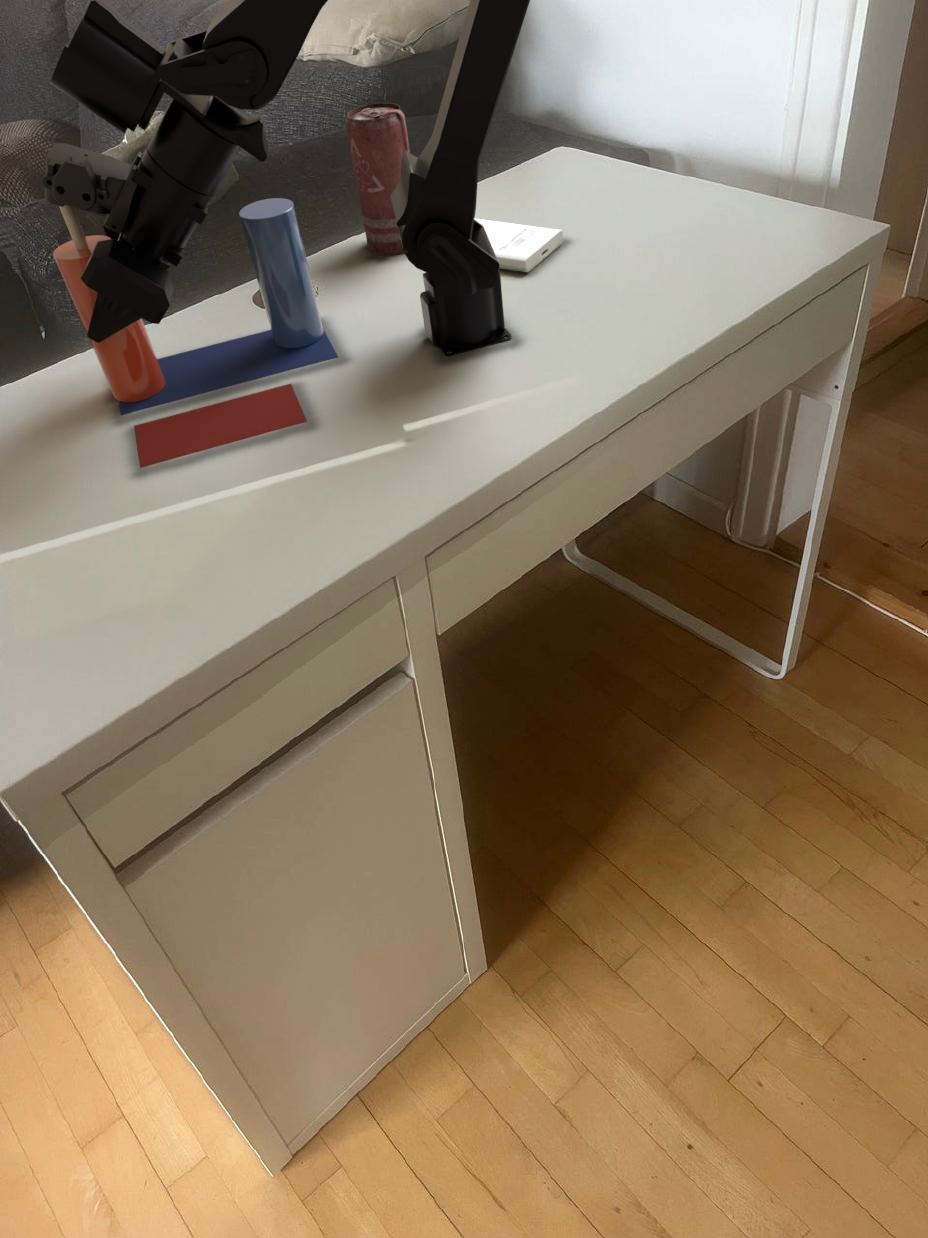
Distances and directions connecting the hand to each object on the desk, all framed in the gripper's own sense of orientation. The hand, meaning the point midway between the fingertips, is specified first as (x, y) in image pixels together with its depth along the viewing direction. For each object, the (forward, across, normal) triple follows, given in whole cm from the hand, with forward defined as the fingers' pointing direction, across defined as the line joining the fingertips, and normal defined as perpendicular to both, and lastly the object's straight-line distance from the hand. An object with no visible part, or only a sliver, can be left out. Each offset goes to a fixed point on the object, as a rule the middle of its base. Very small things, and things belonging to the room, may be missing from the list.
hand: (97, 325), depth 78 cm
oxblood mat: (-2, +9, +11) cm, 14 cm away
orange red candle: (+4, 0, +6) cm, 7 cm away
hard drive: (-22, -18, +32) cm, 42 cm away
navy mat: (-2, -2, +11) cm, 12 cm away
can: (-14, -24, +24) cm, 37 cm away
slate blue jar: (-7, -5, +16) cm, 18 cm away
